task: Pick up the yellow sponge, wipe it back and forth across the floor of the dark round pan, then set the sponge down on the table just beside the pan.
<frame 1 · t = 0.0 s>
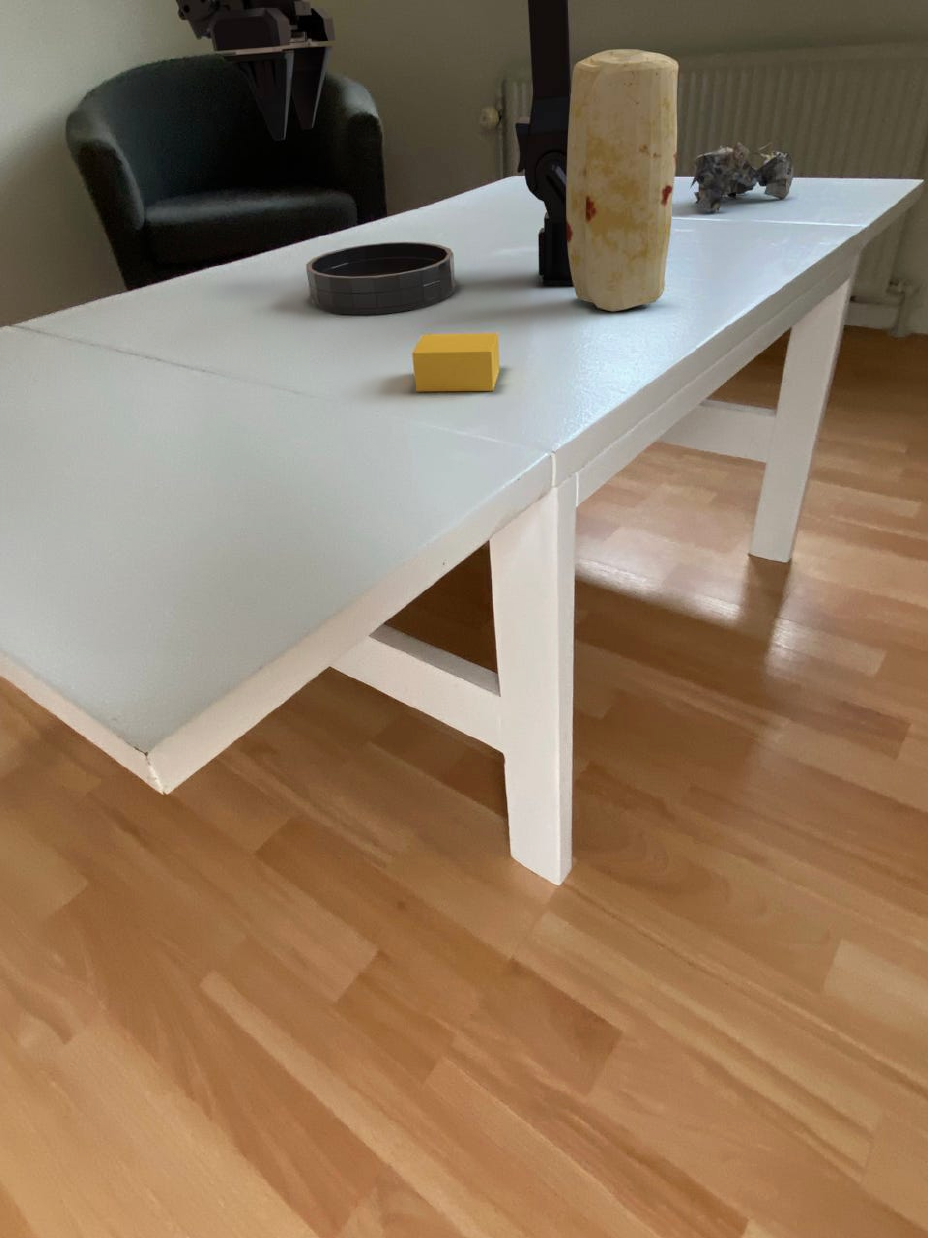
hand: (294, 133, 82), 15 cm above the table, tool pointing down, fingers open, 9 cm apart
pan: (383, 293, 86), on the table
sponge: (458, 380, 64), on the table
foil: (736, 204, 112), on the table
food model: (612, 305, 78), on the table
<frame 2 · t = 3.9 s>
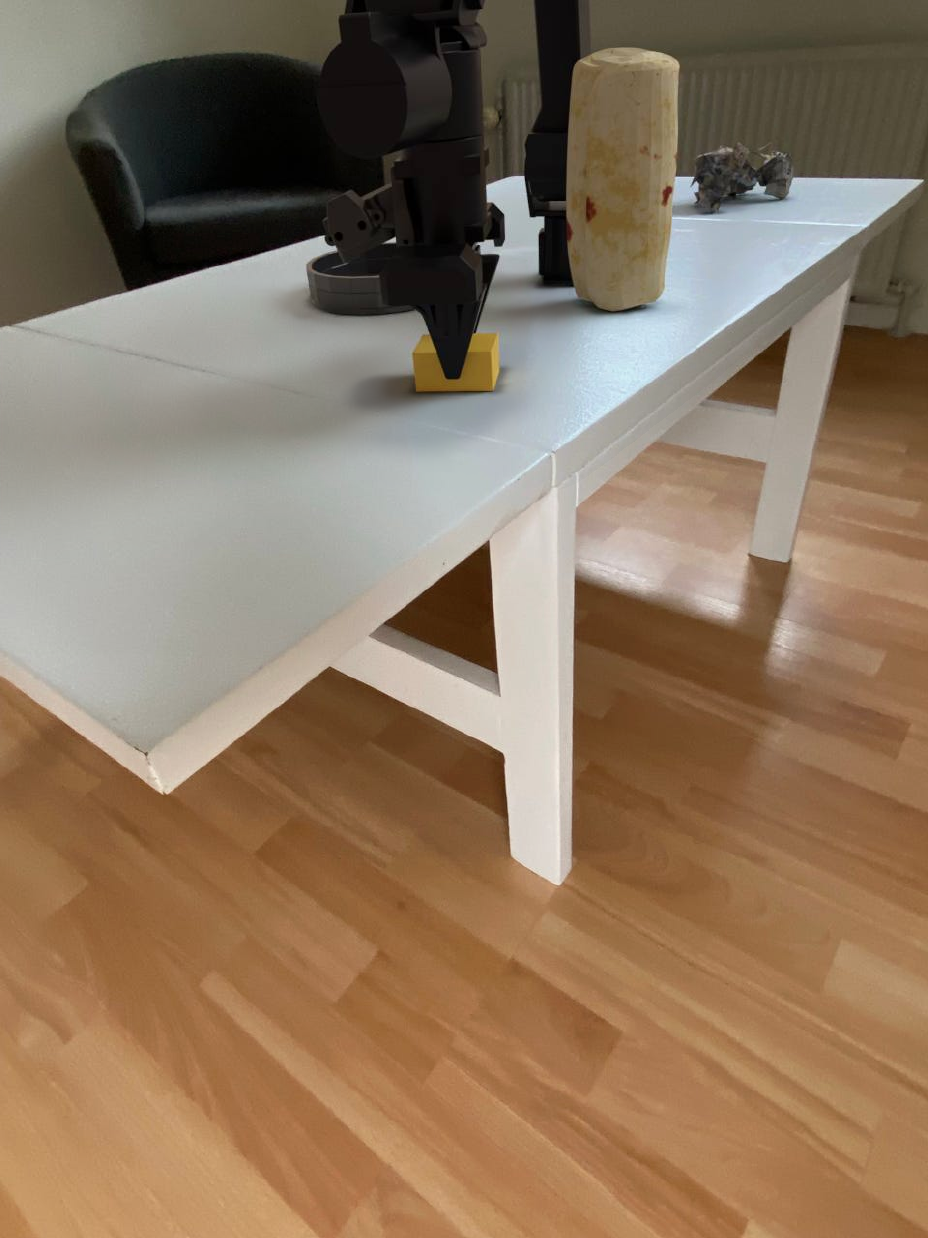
hand: (457, 367, 63), 1 cm above the table, tool pointing down, fingers closed on sponge, 4 cm apart
sponge: (458, 380, 64), on the table, touching gripper
food model: (613, 304, 78), on the table, touching arm
everything else where it was.
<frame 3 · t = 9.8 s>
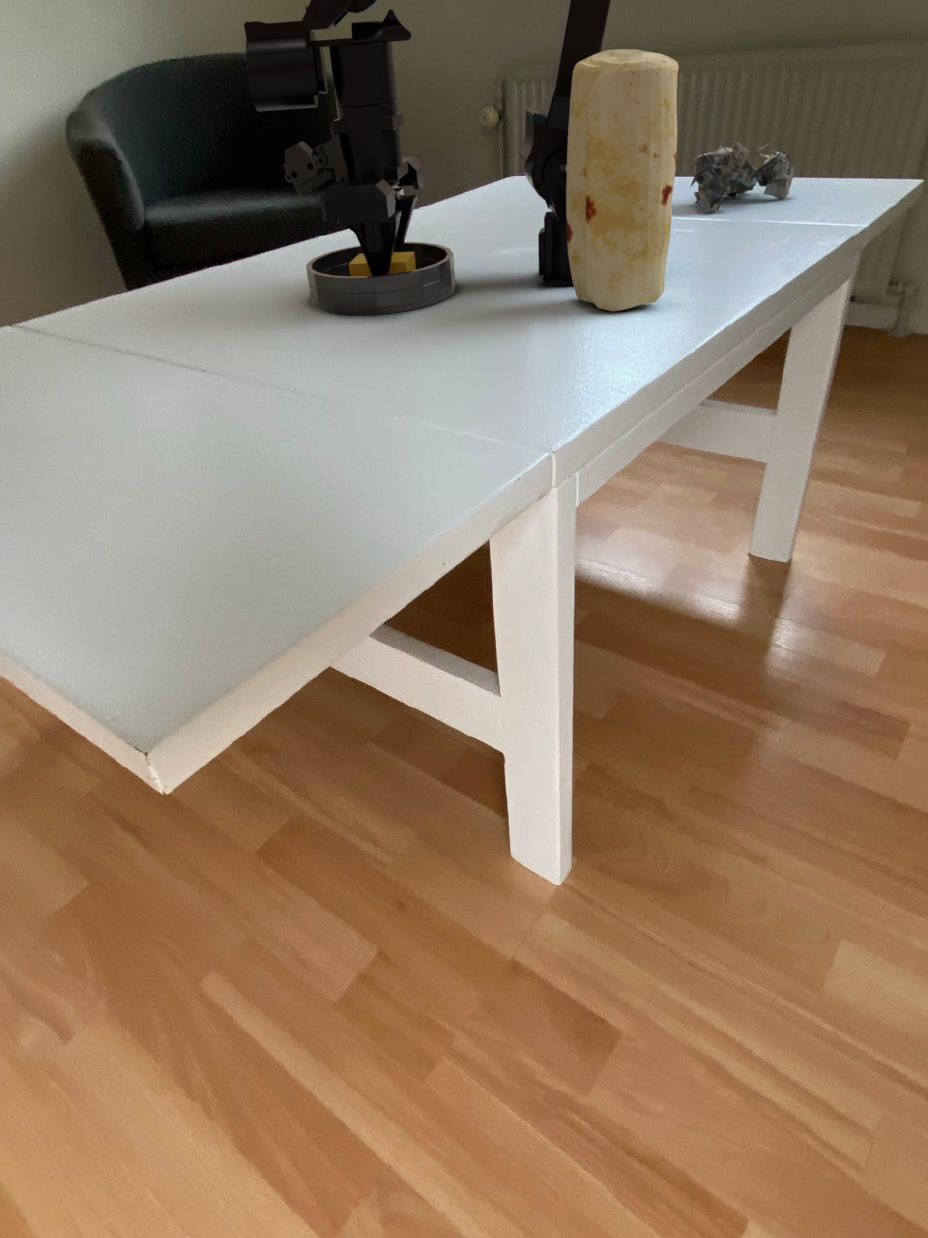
hand: (386, 278, 85), 1 cm above the table, tool pointing down, fingers closed on sponge, 4 cm apart
sponge: (385, 287, 86), point 1 cm above the table, touching gripper
food model: (612, 305, 78), on the table
everything else where it was.
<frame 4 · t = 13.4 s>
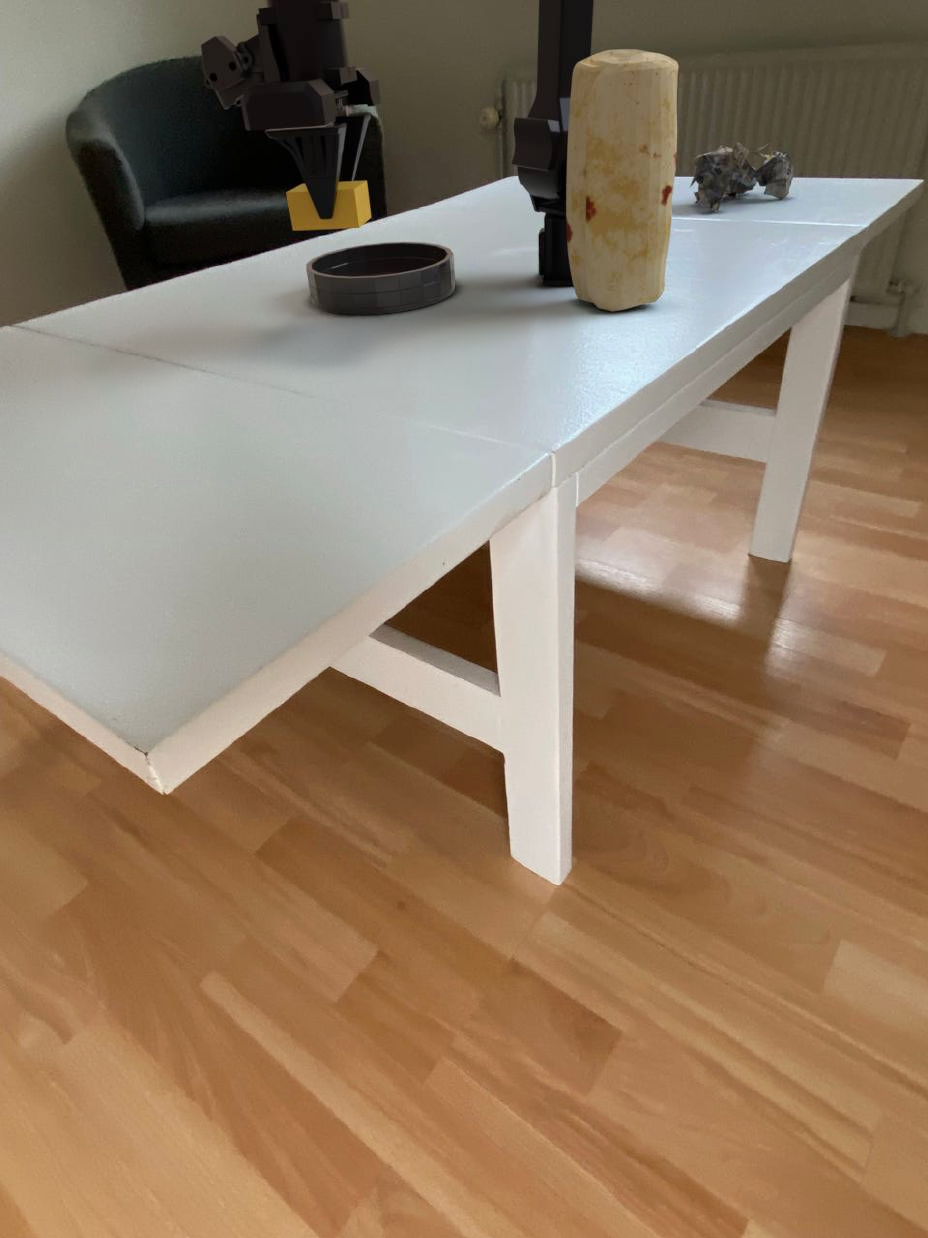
hand: (334, 213, 71), 10 cm above the table, tool pointing down, fingers closed on sponge, 4 cm apart
sponge: (332, 223, 72), point 9 cm above the table, touching gripper
everything else where it was.
when the fingers open (1 cm above the table, at t = 16.1 s): sponge stays where it is, on the table.
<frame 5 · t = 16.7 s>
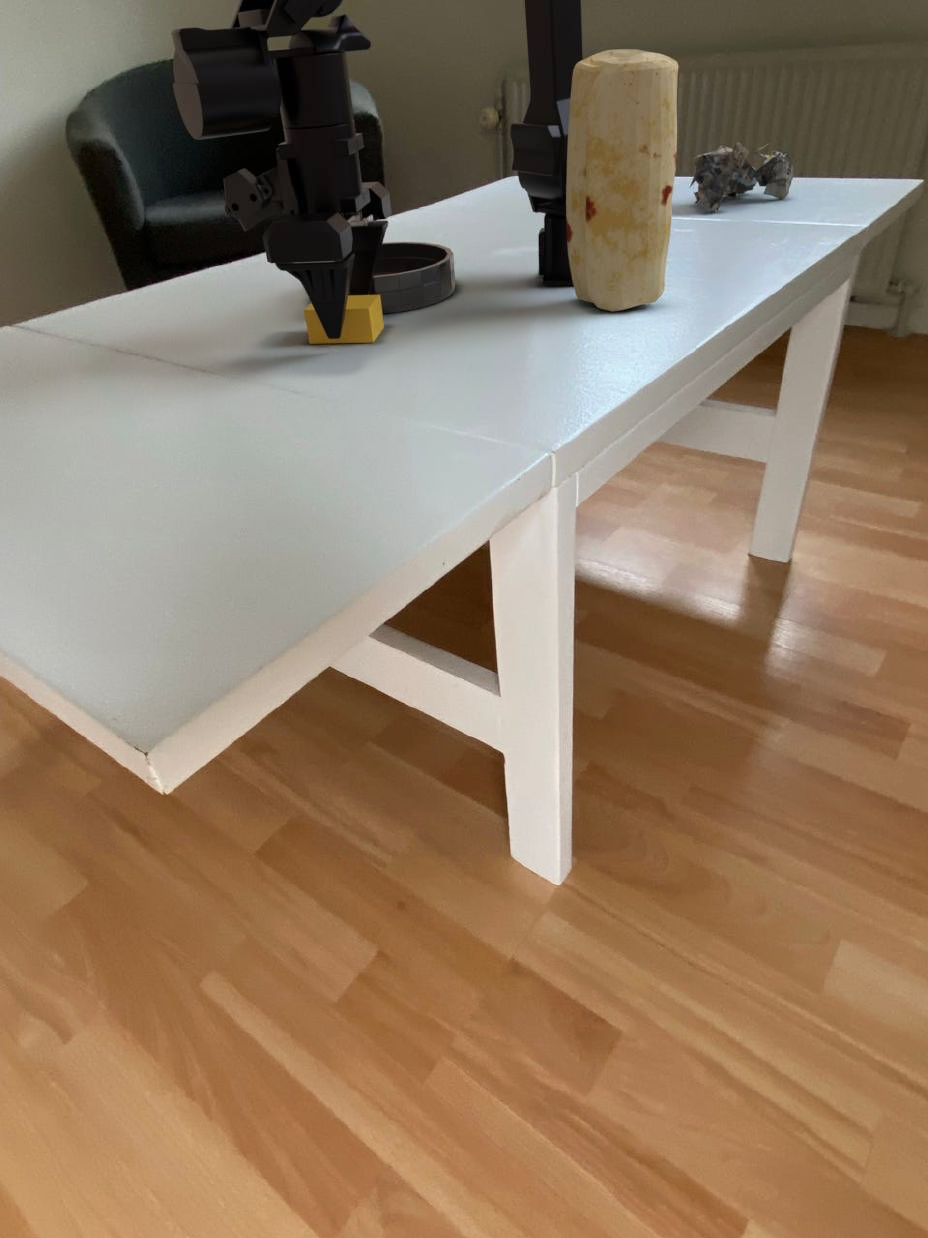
hand: (348, 322, 74), 1 cm above the table, tool pointing down, fingers open, 9 cm apart
sponge: (347, 335, 75), on the table
everything else where it was.
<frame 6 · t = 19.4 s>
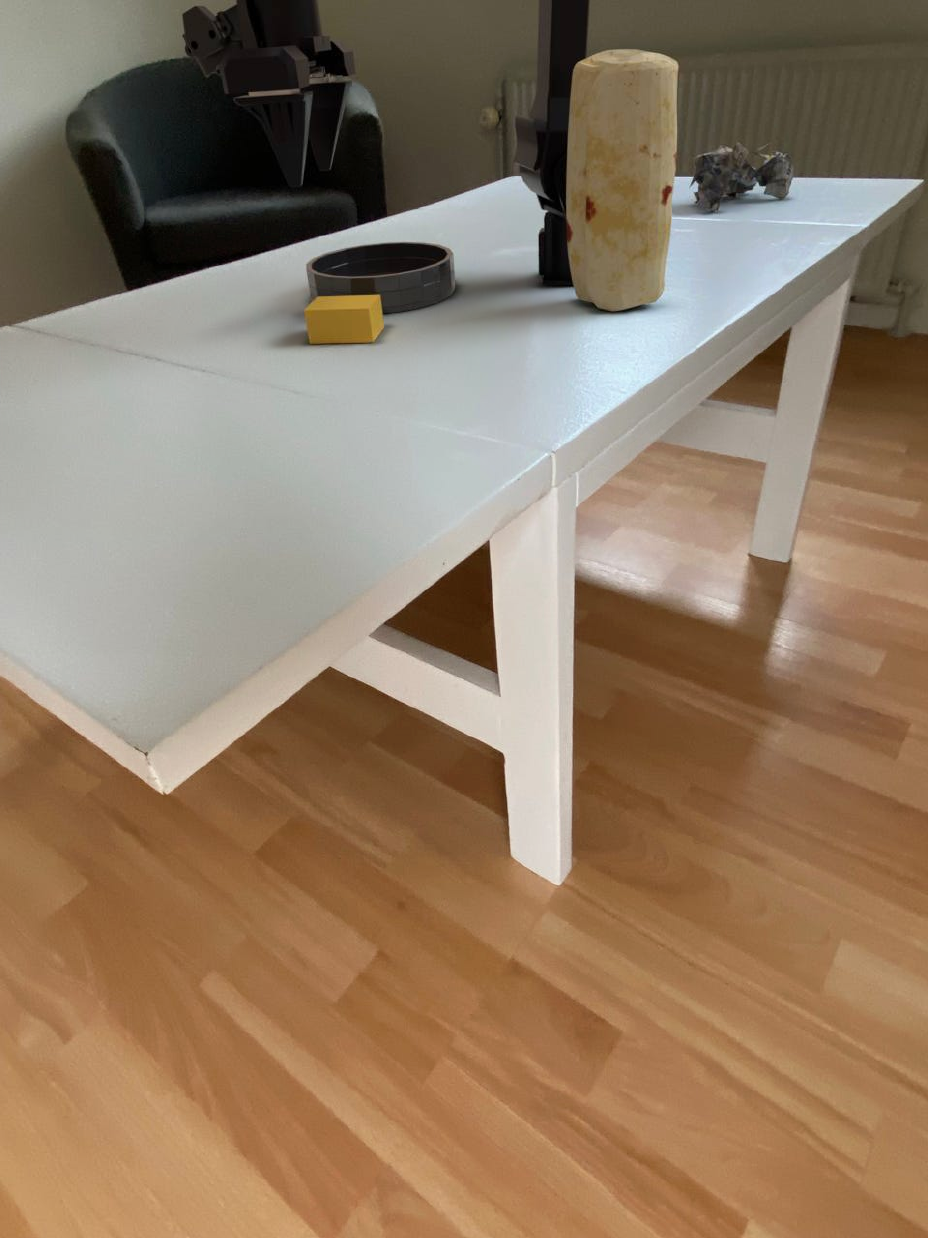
hand: (311, 177, 75), 12 cm above the table, tool pointing down, fingers open, 9 cm apart
nothing on the table moved.
at the end: sponge inside the target area on the table beside the pan (0.3 cm from its centre), on the table; the gripper is holding nothing; sponge tilted 0° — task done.
